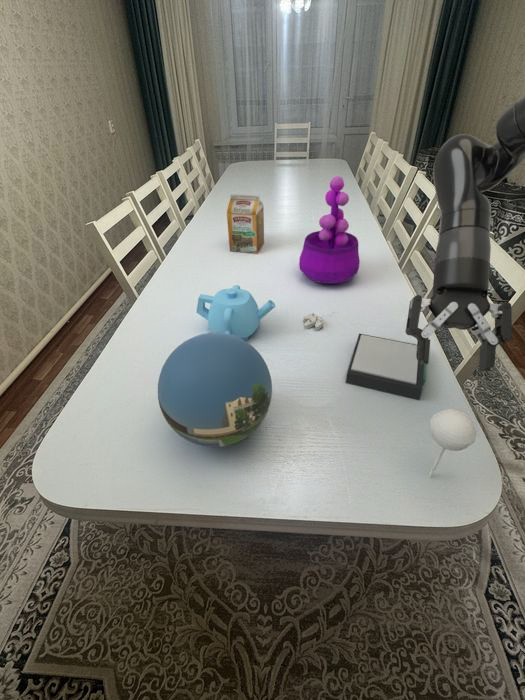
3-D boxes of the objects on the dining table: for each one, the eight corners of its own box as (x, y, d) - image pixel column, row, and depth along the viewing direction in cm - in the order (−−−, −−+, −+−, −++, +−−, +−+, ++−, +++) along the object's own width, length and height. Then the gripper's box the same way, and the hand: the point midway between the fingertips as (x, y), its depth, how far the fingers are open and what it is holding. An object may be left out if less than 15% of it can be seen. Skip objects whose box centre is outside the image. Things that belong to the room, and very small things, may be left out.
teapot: (191, 348, 88) (184, 307, 81) (206, 311, 101) (201, 273, 94) (272, 352, 86) (272, 310, 79) (277, 314, 99) (277, 275, 92)
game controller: (298, 326, 94) (298, 318, 93) (318, 307, 102) (319, 299, 100) (317, 333, 92) (317, 324, 90) (337, 313, 99) (338, 305, 97)
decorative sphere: (176, 393, 76) (156, 313, 64) (268, 387, 77) (266, 307, 64) (162, 475, 61) (133, 392, 48) (277, 466, 61) (277, 382, 49)
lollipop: (403, 474, 60) (427, 414, 51) (422, 454, 63) (448, 394, 53) (438, 501, 56) (470, 441, 47) (457, 478, 59) (490, 418, 50)
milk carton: (264, 242, 139) (263, 191, 128) (257, 253, 131) (255, 199, 120) (238, 240, 142) (234, 190, 130) (229, 251, 134) (225, 198, 122)
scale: (424, 356, 84) (428, 344, 81) (422, 401, 73) (426, 388, 70) (357, 343, 88) (359, 331, 86) (345, 382, 77) (347, 370, 75)
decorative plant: (290, 269, 121) (293, 172, 102) (339, 260, 125) (350, 166, 106) (313, 295, 107) (321, 188, 88) (368, 285, 111) (387, 181, 92)
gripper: (419, 252, 53) (410, 360, 52) (525, 258, 51) (519, 371, 49) (407, 269, 61) (399, 364, 59) (499, 275, 58) (493, 374, 56)
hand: (453, 367), depth 54 cm, fingers open, 8 cm apart
